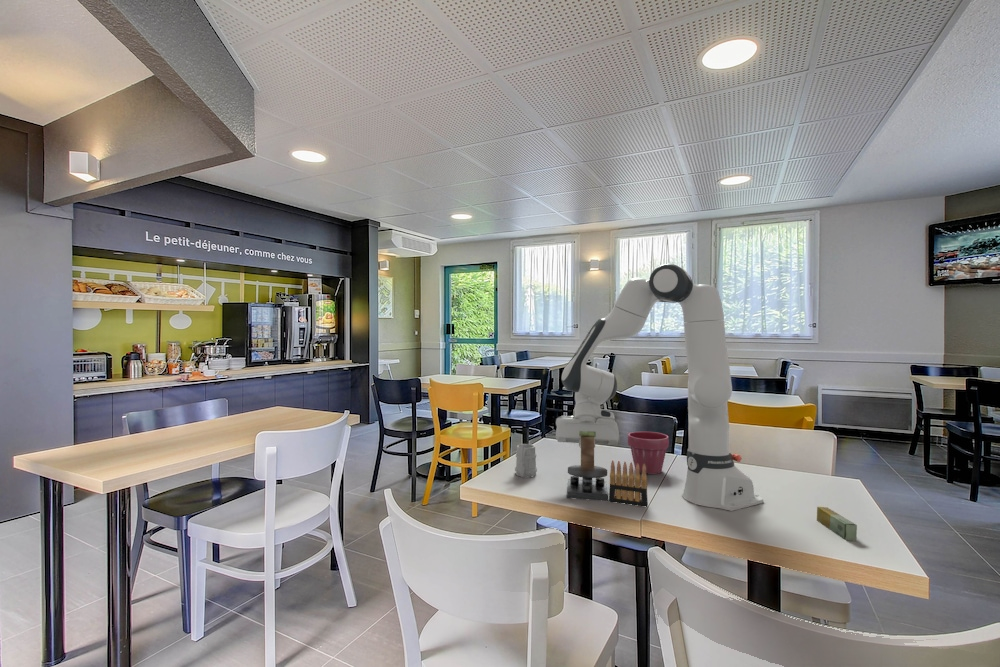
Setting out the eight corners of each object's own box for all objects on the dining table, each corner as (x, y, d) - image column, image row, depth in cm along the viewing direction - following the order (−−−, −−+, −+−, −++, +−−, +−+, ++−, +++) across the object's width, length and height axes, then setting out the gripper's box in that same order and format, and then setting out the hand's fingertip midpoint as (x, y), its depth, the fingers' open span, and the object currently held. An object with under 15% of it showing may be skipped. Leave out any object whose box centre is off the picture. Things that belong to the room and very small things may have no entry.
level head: (606, 470, 145) (606, 429, 146) (608, 479, 133) (608, 434, 134) (568, 467, 147) (568, 427, 148) (567, 476, 135) (567, 433, 136)
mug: (539, 472, 161) (539, 438, 161) (531, 482, 150) (531, 445, 150) (518, 470, 163) (518, 436, 163) (509, 480, 152) (509, 444, 152)
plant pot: (622, 465, 170) (622, 430, 170) (658, 464, 171) (659, 430, 171) (635, 476, 156) (636, 439, 156) (675, 476, 157) (675, 439, 157)
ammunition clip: (608, 501, 133) (609, 460, 133) (609, 499, 134) (609, 459, 134) (647, 507, 128) (647, 464, 129) (647, 505, 130) (647, 463, 130)
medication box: (857, 542, 108) (858, 525, 108) (845, 541, 108) (845, 524, 108) (826, 521, 120) (827, 506, 120) (815, 520, 120) (816, 505, 120)
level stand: (606, 487, 145) (606, 470, 145) (608, 501, 133) (608, 482, 133) (568, 485, 147) (568, 468, 147) (566, 498, 135) (567, 480, 135)
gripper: (555, 410, 152) (553, 447, 143) (618, 413, 148) (620, 451, 139) (556, 420, 157) (554, 457, 147) (617, 423, 153) (619, 461, 143)
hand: (586, 454), depth 143 cm, fingers closed, pressing on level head
